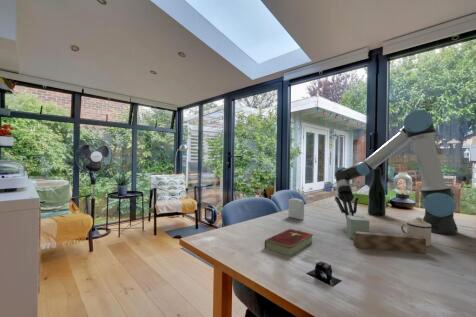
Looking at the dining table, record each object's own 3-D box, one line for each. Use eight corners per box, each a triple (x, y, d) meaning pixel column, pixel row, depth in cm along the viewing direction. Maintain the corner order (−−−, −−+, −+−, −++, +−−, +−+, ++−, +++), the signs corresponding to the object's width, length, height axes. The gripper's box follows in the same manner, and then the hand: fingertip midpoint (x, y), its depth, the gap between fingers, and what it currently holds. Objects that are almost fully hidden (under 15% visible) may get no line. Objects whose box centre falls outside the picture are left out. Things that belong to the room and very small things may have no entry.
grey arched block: (287, 216, 147) (287, 197, 147) (291, 215, 150) (291, 197, 150) (300, 220, 139) (301, 200, 139) (304, 219, 142) (305, 199, 142)
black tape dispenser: (300, 273, 75) (300, 260, 75) (313, 267, 80) (313, 254, 80) (336, 291, 65) (336, 275, 65) (348, 283, 70) (348, 268, 70)
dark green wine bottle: (368, 212, 165) (369, 166, 165) (385, 214, 159) (386, 167, 159) (366, 214, 156) (367, 166, 156) (384, 217, 150) (386, 167, 150)
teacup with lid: (435, 245, 102) (436, 219, 102) (424, 248, 98) (425, 221, 98) (406, 236, 113) (406, 213, 113) (395, 239, 109) (395, 214, 109)
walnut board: (421, 250, 95) (421, 236, 95) (425, 253, 92) (426, 238, 92) (353, 244, 100) (354, 231, 100) (355, 247, 98) (356, 233, 98)
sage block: (363, 234, 115) (363, 216, 115) (368, 239, 107) (369, 220, 107) (346, 232, 117) (346, 215, 117) (350, 238, 109) (351, 219, 109)
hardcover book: (264, 248, 95) (264, 238, 95) (289, 236, 111) (289, 227, 111) (290, 257, 87) (290, 246, 87) (312, 243, 103) (313, 233, 103)
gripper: (354, 193, 140) (362, 228, 123) (331, 192, 142) (337, 226, 126) (357, 185, 134) (366, 221, 118) (333, 184, 137) (339, 219, 121)
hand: (351, 224), depth 122 cm, fingers closed
